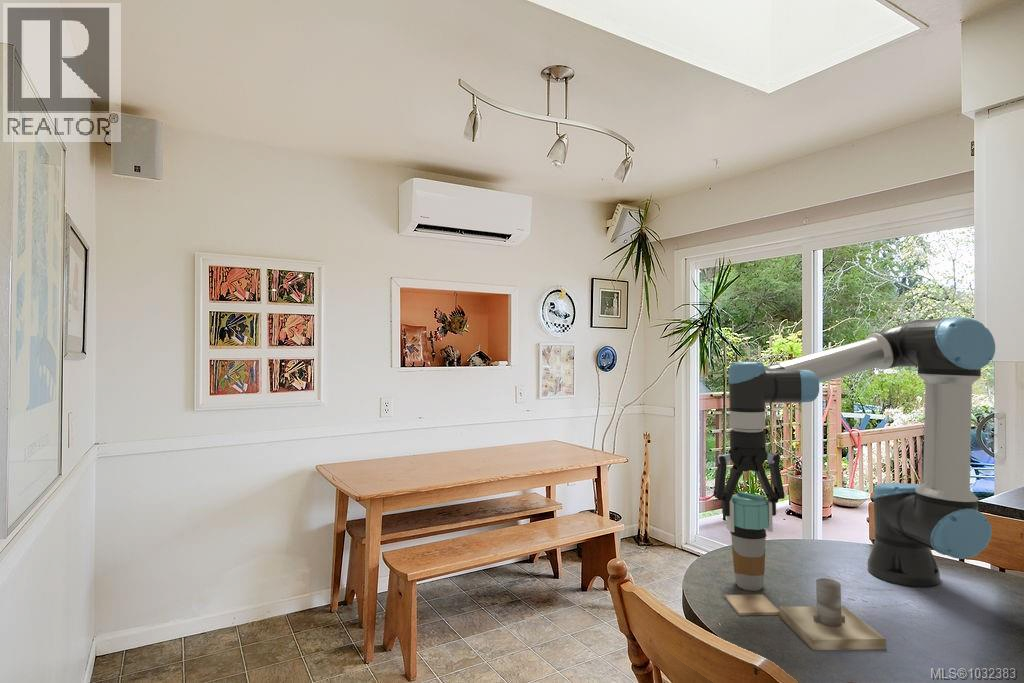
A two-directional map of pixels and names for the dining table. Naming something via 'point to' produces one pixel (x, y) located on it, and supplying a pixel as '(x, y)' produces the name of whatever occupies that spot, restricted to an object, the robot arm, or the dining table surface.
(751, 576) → the coffee cup
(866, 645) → the post base
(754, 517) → the cap
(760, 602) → the coaster
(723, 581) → the dining table surface
